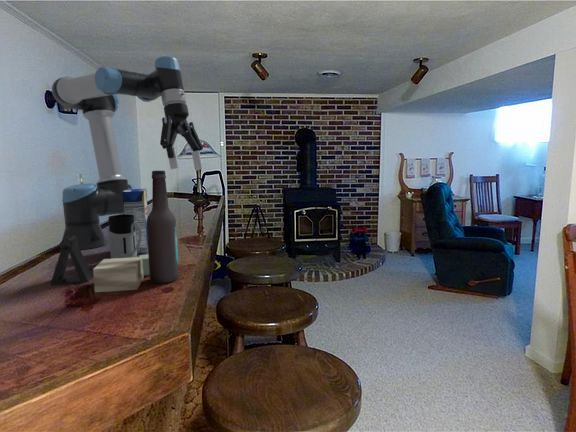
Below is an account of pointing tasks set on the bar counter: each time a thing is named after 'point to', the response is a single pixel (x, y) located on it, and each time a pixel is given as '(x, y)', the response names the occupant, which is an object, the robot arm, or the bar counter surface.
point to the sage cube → (145, 264)
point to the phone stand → (77, 259)
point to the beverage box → (137, 214)
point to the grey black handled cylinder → (123, 236)
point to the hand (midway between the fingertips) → (187, 169)
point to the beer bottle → (161, 234)
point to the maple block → (118, 274)
